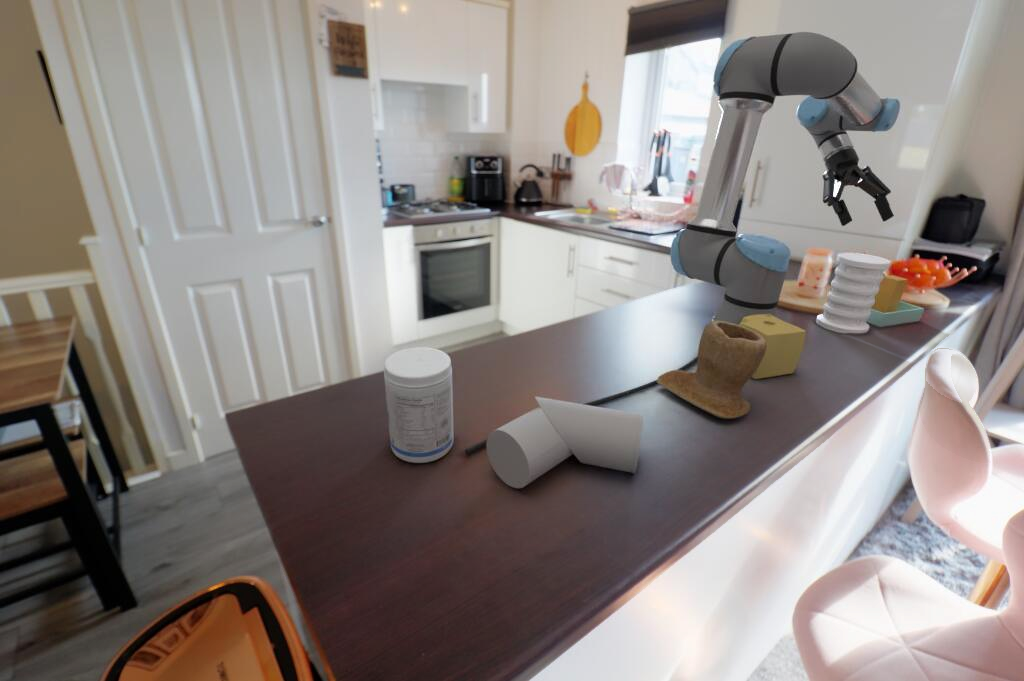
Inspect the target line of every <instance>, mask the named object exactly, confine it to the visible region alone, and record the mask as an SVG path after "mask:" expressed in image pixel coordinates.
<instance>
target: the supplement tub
mask: <svg viewBox="0 0 1024 681" xmlns="http://www.w3.org/2000/svg"><path fill="white" fill-rule="evenodd" d="M383 367H384V368H383V369H384V370H383V378H384V389H385V390H384V391H385V398H386V399H385V400H386V410H387V420H388V431H389V442H390V448H391V451H392V453H393V455H395V457H397V458H399V459H400V460H402V461H404V462H408V463H412V464H425V463H431V462H434V461H437V460H439V459H441V458H442V457H444V456H446V454H448V453H449V451H450V450H451V449H452V447H453V444H454V398H453V395H454V394H453V392H454V391H453V368H452V360H451V357H450V355H448V354H447V353H446V352H445V351H442V350H440V349H438V348H437V349H436V348H433V347H424V346H423V347H421V346H420V347H409V348H405V349H401V350H398V351H396V352H394V353H392V354H390V355H389V356H388V357H387V358H386V359H385V360H384V364H383Z"/></svg>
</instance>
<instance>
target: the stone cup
mask: <svg viewBox="0 0 1024 681" xmlns="http://www.w3.org/2000/svg"><path fill="white" fill-rule="evenodd" d="M765 352H766V341H765V339H764V338H763V337H762V336H761V335H760V334H758V333H757V332H755V331H753V330H750V329H748V328H745V327H743V326H740V325H737V324H733V323H728V322H725V321H713V322H711V323H710V322H709V323H708V324H707V325H706V327H704V329H703V331H702V333H701V336H700V340H699V344H698V351H697V356H698V361H697V366H696V370H695V371H694V372H693V371H690V370H684V371H683V370H678V369H673V370H669V371H666V372H664V373H663V374H661V375H659V376H658V377H657V379H656V380H657V381H656V382H657V383H658V384H657V385H659V386H661V387H663V388H664V389H666V390H668V391H669V392H671V393H672V394H674V395H676V396H677V397H679V398H680V399H683V400H684V401H686V402H688V403H690V404H691V405H693V406H695V407H697V408H699V409H701V410H702V411H704V412H707V413H709V414H711V415H712V416H715V417H718V418H719V419H725V420H732V419H739V418H741V417H743V416H746V414H748V413H749V412H750V409H751V404H750V402H749V401H748V400H746V398H744V397H743V396H742V390H743V389H744V387H745V385H746V383H747V382H748V381H749V380H750V379H751V378H752V377H751V376H752V375H753V374H754V373H755V371H756V370H757V368H758V366H759V364H760V363H761V361H762V359H763V357H764V355H765Z"/></svg>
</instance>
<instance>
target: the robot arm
mask: <svg viewBox="0 0 1024 681" xmlns="http://www.w3.org/2000/svg"><path fill="white" fill-rule="evenodd" d="M858 68H859V67H858V60H857V58H856V56H855V55H854V54H853V53H852V51H850V50H849V49H848V48H847V47H846V46H844V45H843V44H841V43H840V42H838V41H836V40H835V39H833V38H830V37H829V36H826V35H824V34H820V33H816V32H810V31H797V32H792V33H782V34H781V33H780V34H772V35H761V36H760V35H759V36H755V35H754V36H750V37H747V38H743V39H738V40H735V41H732V43H730V44H729V46H727V47H726V48H725V49H724V51H723V52H722V53H721V55H720V57H719V58H718V61H717V63H716V66H715V68H714V69H715V70H714V73H713V80H712V81H713V83H714V84H713V90H714V93H715V95H716V96H717V97H718V102H717V103H718V105H719V107H720V109H721V111H722V114H721V118H720V121H719V124H718V129H717V132H716V137H715V140H714V145H713V148H712V151H711V155H710V159H709V164H708V168H707V171H706V176H705V178H704V183H703V186H702V190H701V194H700V198H699V202H698V206H697V209H696V213H695V215H694V217H693V218H691V219H690V220H688V221H687V223H686V227H685V228H683V229H680V230H679V231H678V232H677V233H676V235H675V237H674V238H673V240H672V243H671V246H670V264H671V266H672V267H673V270H674V271H675V272H676V273H677V274H679V275H681V276H683V277H687V278H689V279H690V280H698V281H702V282H705V283H708V284H712V285H715V286H720V287H724V288H725V291H724V294H723V299H722V301H721V302H720V305H719V306H718V308H717V309H716V311H715V314H714V315H713V316H712V317H711V320H710V321H709V324H710V323H711V322H713V321H725V322H728V323H733V324H737V325H739V324H740V323H741V321H742V319H743V318H744V317H746V316H751V315H759V314H770V315H772V316H774V317H776V318H778V317H777V307H778V304H779V301H780V297H781V293H782V289H783V285H784V282H785V278H786V275H787V272H788V270H789V268H790V266H789V263H790V257H791V250H790V248H789V246H788V245H787V244H785V243H784V242H783V241H780V240H778V239H775V238H772V237H769V236H765V235H761V234H754V233H741V234H739V235H738V236H737V237H736V235H737V231H738V230H737V228H736V226H735V224H734V223H733V221H734V217H735V213H736V210H737V207H738V203H739V200H740V197H741V193H742V189H743V185H744V182H745V178H746V175H747V172H748V168H749V165H750V162H751V158H752V155H753V150H754V148H755V144H756V141H757V137H758V133H759V130H760V126H761V122H762V119H763V116H764V115H765V113H767V112H768V111H770V110H771V109H773V107H774V103H775V100H776V97H787V96H806V98H804V99H803V100H802V101H801V102H800V104H799V105H798V107H797V109H796V118H797V120H798V122H799V124H800V125H801V126H802V127H804V129H805V130H807V132H808V134H810V135H811V136H812V139H813V142H814V143H815V145H816V147H817V150H818V151H819V153H820V156H821V158H822V161H823V162H824V166H825V168H826V171H825V172H824V173H822V179H823V189H822V190H823V193H822V202H823V204H826V205H827V207H832V209H833V211H834V213H835V214H836V215H837V217H838V220H839V222H840V225H841V227H844V226H846V225H848V224H849V223H851V222H853V218H852V216H851V213H850V212H849V209H848V207H847V205H846V202H845V200H844V199H841V197H842V194H843V192H844V190H845V187H847V186H854V187H855V188H859V189H861V190H862V191H864V192H865V193H866V194H868V195H869V196H870V197H871V198H873V199H874V200H873V202H874V205H875V207H876V210H877V212H878V213H879V216H880V219H881V220H882V222H887V221H888V220H890V219H892V218H893V217H895V215H894V213H893V211H892V208H891V205H890V203H889V200H888V198H887V196H888V195H889V194H891V193H892V190H891V189H890V188H889V187H888V186H887V185H886V184H885V183H884V182H883V181H882V180H881V179H880V178H879V176H877V175H876V174H875V173H874V172H873V171H872V169H871V167H870V166H869V165H866V166H864V168H861V167H859V161H860V158H859V155H858V153H857V151H856V149H855V148H854V146H855V145H854V144H853V142H852V139H851V138H850V136H849V134H848V132H847V131H849V132H872V133H875V132H888V131H890V130H891V129H892V128H893V127H894V126H895V124H896V123H897V119H898V117H899V114H900V110H901V109H900V108H901V102H900V100H899V99H897V98H889V97H886V98H881V97H880V96H879V94H878V93H877V92H876V91H875V90H874V89H873V87H872V86H871V85H870V84H869V83H868V81H867V80H866V79H865V77H864V76H863V74H862V75H861V73H860V72H859V70H858ZM695 363H698V355H697V356H696V357H694V358H693V359H692V360H690V361H689V362H687V363H686V364H685V365H682V366H681V367H679V368H677V370H683V371H687V369H689V368H690V367H692V366H693V365H694V364H695ZM656 381H657V379H655V380H653V381H650V382H648V383H645V384H643V385H640V386H637V387H634V388H631V389H628V390H624V391H621V392H619V393H615V394H612V395H609V396H606V397H603V398H599V399H596V400H592V401H588V402H585V403H583V404H584V405H590V406H599V405H601V404H602V405H603V404H605V403H608V402H611V401H615V400H618V399H621V398H624V397H627V396H630V395H633V394H635V393H638V392H641V391H644V390H647V389H649V388H651V387H654V386H657V385H659V384H658V383H657V382H656ZM486 443H487V438H486V439H485V440H484V439H483V441H479V442H478V443H476V444H474V445H472V446H470V447H468V448H466V449H465V450H464V452H465V454H466V455H467V456H468V455H470V454H472V453H475V452H476V451H479V450H480V449H482V448H484V447H486Z"/></svg>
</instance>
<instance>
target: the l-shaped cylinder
mask: <svg viewBox="0 0 1024 681" xmlns="http://www.w3.org/2000/svg"><path fill="white" fill-rule="evenodd" d="M534 398H535V400H536V402H537V403H538V406H537V407H536V408H533V409H532V410H530V411H528V412H526V413H524V414H522V415H520V416H518V417H516V418H514V419H513V420H511V421H509V422H507V423H505V424H503V425H502V426H499V427H498V428H496V429H494V430H492V431H491V432H490V433H489V434H488V436H487V437H486V439H487V443H486V446H485V448H486V454H487V457H488V461H489V463H490V465H491V467H492V469H493V471H494V472H495V474H496V476H498V478H499V479H500V480H501V481H502V482H503V483H505V484H506V485H508V487H511V488H514V489H522V488H524V487H526V486H527V485H529V484H530V483H532V482H534V481H535V480H536V479H538V478H539V477H541V476H542V475H544V474H546V473H547V472H549V471H550V470H551V469H553V468H554V467H556V466H557V465H559V464H560V463H562V462H563V461H565V460H567V459H568V458H570V457H571V456H572V455H574V456H575V458H576V459H577V460H578V461H579V462H580V463H581V464H585V465H591V466H594V467H595V466H596V467H601V468H606V469H611V470H616V471H621V472H627V473H632V474H636V472H637V468H638V462H639V457H640V450H641V442H642V434H643V424H644V414H643V413H638V412H631V411H625V410H620V409H614V408H608V407H607V408H606V407H600V406H597V405H595V406H590V405H584V404H585V403H577V402H571V401H565V400H559V399H554V398H546V397H541V396H534Z"/></svg>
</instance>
